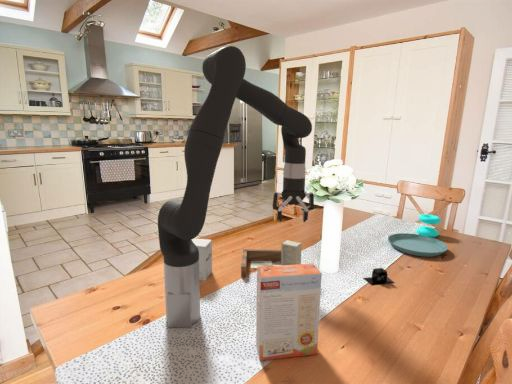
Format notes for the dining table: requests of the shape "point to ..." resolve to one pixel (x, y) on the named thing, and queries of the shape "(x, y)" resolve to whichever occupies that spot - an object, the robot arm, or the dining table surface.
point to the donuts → (428, 230)
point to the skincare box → (290, 253)
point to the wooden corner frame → (258, 258)
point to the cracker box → (287, 310)
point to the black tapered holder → (378, 277)
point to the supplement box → (204, 257)
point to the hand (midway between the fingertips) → (292, 221)
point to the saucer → (417, 244)
